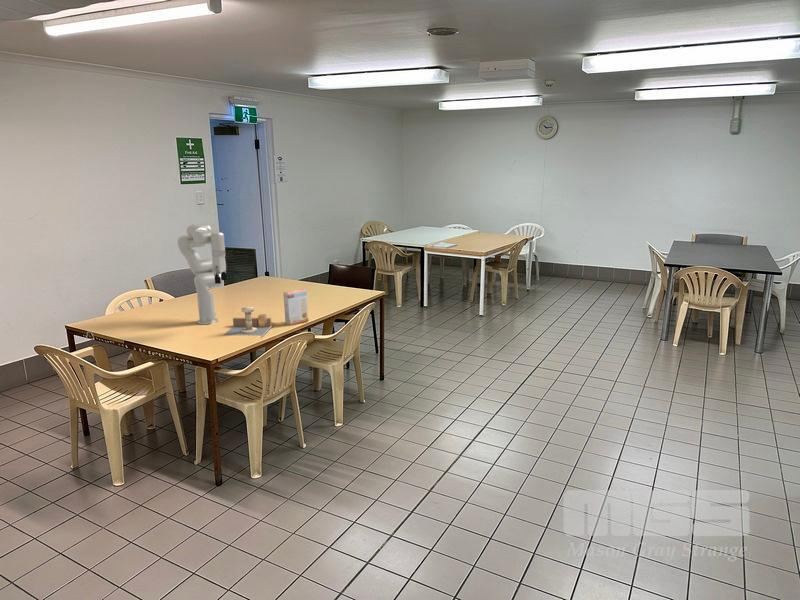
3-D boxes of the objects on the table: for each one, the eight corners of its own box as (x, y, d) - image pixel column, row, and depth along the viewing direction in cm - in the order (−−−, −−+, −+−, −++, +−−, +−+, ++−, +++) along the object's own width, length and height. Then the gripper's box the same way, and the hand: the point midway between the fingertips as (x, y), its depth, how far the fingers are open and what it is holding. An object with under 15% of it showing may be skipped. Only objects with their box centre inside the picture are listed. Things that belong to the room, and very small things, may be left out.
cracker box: (303, 319, 352) (302, 288, 347) (308, 321, 347) (307, 290, 342) (284, 323, 343) (282, 291, 338) (289, 325, 338) (287, 293, 333)
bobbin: (244, 329, 327) (242, 306, 324) (259, 329, 326) (257, 306, 323) (239, 333, 318) (237, 310, 315) (254, 333, 318) (252, 310, 314)
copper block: (260, 325, 335) (259, 314, 333) (267, 325, 335) (266, 314, 333) (258, 327, 331) (258, 316, 329) (265, 327, 331) (264, 316, 329)
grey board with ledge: (234, 327, 335) (234, 317, 333) (271, 328, 334) (270, 317, 332) (223, 337, 316) (222, 326, 314) (262, 337, 314) (261, 327, 313)
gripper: (217, 251, 327) (220, 278, 331) (206, 255, 310) (209, 284, 314) (230, 251, 326) (232, 278, 330) (219, 255, 309) (221, 284, 313)
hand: (221, 281), depth 322 cm, fingers open, 9 cm apart
